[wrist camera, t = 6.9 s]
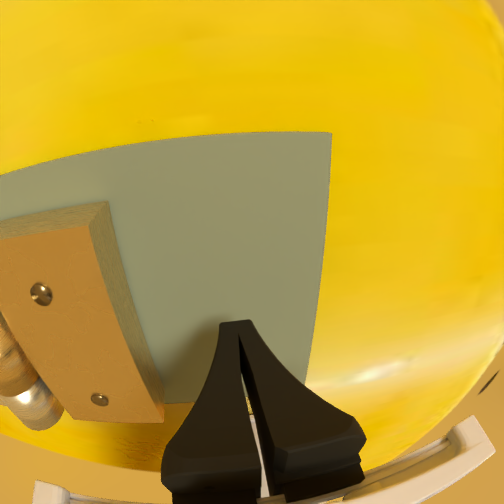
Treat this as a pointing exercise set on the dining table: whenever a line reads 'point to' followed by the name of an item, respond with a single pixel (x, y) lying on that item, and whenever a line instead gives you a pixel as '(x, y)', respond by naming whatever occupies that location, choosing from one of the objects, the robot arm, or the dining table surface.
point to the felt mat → (204, 238)
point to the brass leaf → (74, 317)
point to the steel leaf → (35, 406)
